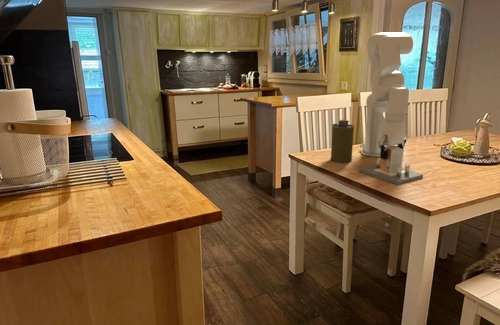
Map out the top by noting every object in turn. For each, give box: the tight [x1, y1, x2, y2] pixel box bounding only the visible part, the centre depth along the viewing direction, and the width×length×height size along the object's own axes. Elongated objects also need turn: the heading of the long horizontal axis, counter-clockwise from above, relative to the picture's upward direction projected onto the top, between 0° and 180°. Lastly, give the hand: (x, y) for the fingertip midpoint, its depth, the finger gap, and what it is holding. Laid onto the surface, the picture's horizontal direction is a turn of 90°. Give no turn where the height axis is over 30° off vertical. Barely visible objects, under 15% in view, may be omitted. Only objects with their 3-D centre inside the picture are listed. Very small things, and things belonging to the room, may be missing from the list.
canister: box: [330, 119, 355, 164], centre depth 166 cm, size 11×10×20 cm
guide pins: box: [376, 157, 411, 177], centre depth 146 cm, size 14×7×4 cm, turn 29°
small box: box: [380, 145, 405, 174], centre depth 145 cm, size 8×6×10 cm
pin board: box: [358, 163, 424, 186], centre depth 146 cm, size 20×16×2 cm
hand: (391, 157), depth 145 cm, fingers open, 9 cm apart
